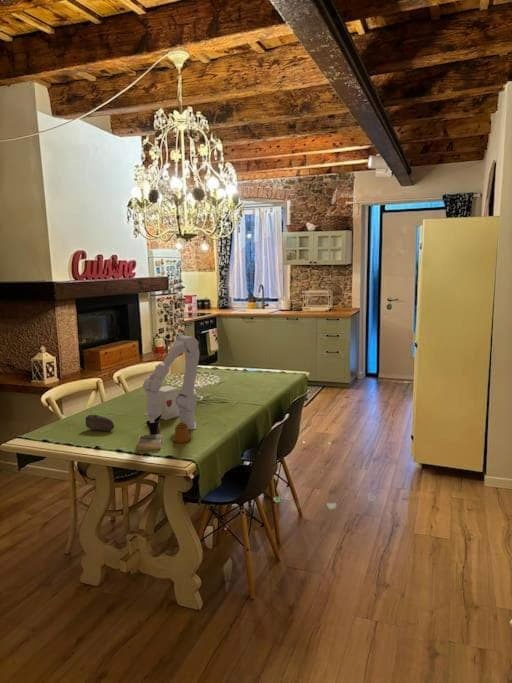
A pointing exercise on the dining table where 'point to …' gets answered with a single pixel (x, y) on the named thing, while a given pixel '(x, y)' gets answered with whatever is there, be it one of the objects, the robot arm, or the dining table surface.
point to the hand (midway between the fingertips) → (155, 432)
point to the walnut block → (157, 429)
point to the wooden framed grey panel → (149, 442)
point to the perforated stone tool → (99, 423)
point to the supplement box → (168, 402)
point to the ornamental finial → (181, 433)
